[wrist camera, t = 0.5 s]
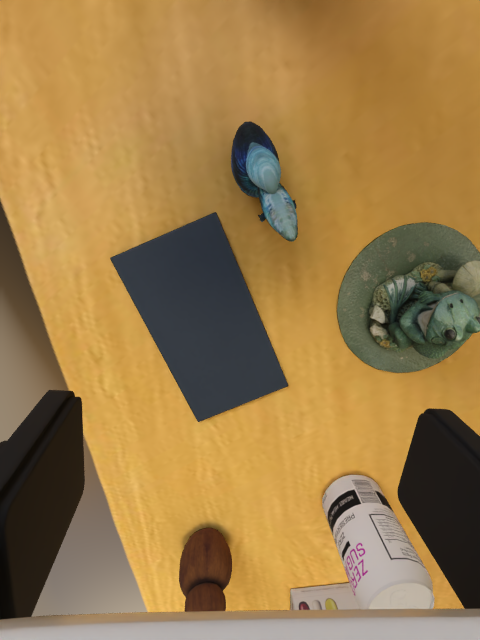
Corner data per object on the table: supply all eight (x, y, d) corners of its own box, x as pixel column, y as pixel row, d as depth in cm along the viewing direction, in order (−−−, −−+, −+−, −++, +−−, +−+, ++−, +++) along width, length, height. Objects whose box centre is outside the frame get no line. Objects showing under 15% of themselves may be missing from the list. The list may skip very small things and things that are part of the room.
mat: (110, 257, 39) (109, 258, 39) (215, 211, 39) (215, 212, 38) (198, 420, 47) (198, 422, 46) (287, 384, 46) (288, 385, 46)
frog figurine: (472, 196, 40) (570, 198, 29) (497, 339, 46) (586, 385, 35) (316, 260, 41) (355, 285, 30) (360, 392, 47) (406, 453, 36)
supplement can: (381, 508, 54) (443, 622, 40) (326, 523, 54) (367, 642, 40) (374, 464, 51) (437, 569, 37) (315, 480, 51) (356, 590, 37)
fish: (255, 237, 40) (269, 252, 31) (217, 140, 37) (220, 123, 27) (293, 221, 40) (319, 231, 30) (259, 122, 36) (276, 98, 27)
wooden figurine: (211, 513, 52) (211, 635, 38) (237, 536, 53) (247, 661, 39) (173, 539, 53) (160, 667, 38) (200, 561, 54) (197, 691, 40)
